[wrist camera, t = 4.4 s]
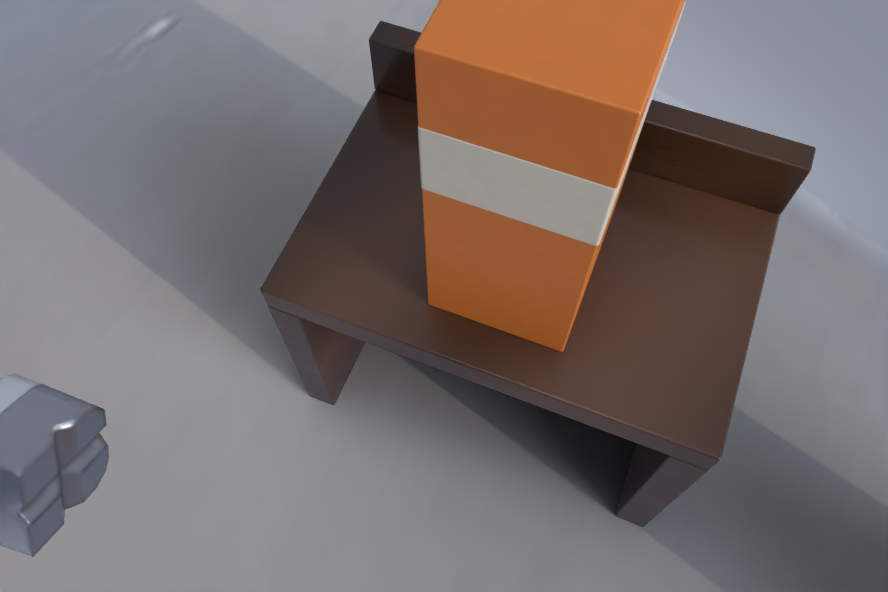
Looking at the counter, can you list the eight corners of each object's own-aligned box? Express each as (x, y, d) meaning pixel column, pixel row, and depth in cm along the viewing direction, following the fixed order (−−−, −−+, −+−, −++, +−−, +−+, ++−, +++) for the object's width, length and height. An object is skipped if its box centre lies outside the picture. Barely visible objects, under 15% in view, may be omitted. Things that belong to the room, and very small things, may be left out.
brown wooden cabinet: (309, 396, 34) (240, 249, 23) (400, 217, 38) (379, 19, 27) (643, 527, 31) (751, 434, 20) (701, 319, 35) (816, 146, 24)
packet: (426, 305, 25) (411, 46, 15) (492, 162, 27) (516, -139, 17) (563, 353, 24) (642, 115, 14) (617, 202, 26) (717, -90, 16)
